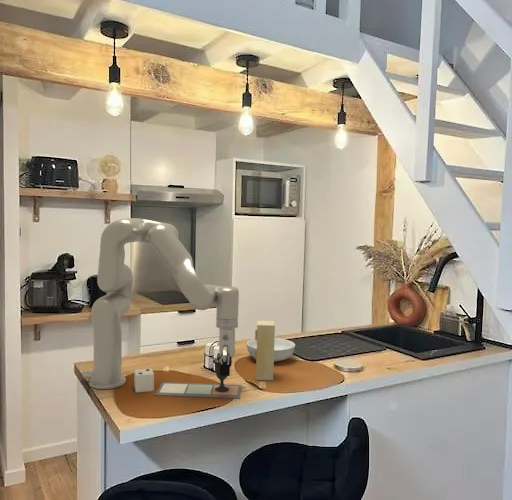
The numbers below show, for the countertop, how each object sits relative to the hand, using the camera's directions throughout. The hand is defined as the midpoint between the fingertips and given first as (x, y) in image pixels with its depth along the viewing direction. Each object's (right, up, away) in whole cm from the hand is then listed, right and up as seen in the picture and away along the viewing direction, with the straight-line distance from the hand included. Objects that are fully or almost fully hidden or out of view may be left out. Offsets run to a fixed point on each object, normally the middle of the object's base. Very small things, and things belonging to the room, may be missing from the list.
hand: (225, 370), depth 167 cm
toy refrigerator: (+13, -7, +16) cm, 22 cm away
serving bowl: (+17, -5, +39) cm, 43 cm away
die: (-29, -6, +1) cm, 29 cm away
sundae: (-1, -7, +1) cm, 7 cm away
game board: (-9, -7, +1) cm, 12 cm away
